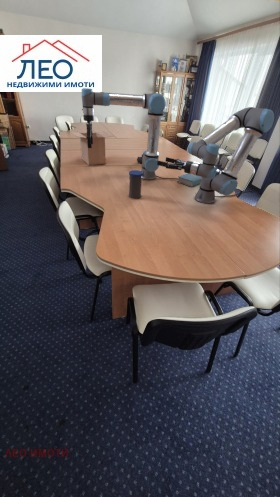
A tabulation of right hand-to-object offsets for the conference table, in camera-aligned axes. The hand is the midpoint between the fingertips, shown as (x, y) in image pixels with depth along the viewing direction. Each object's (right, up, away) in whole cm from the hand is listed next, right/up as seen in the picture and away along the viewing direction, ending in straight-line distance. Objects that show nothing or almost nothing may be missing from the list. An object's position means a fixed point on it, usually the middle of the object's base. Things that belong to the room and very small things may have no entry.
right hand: (161, 160), depth 149 cm
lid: (-18, -5, +10) cm, 21 cm away
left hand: (-54, +21, +24) cm, 63 cm away
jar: (-19, -19, +21) cm, 34 cm away
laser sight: (-7, +34, +93) cm, 99 cm away
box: (-65, +35, +88) cm, 115 cm away
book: (+33, +2, +54) cm, 63 cm away
